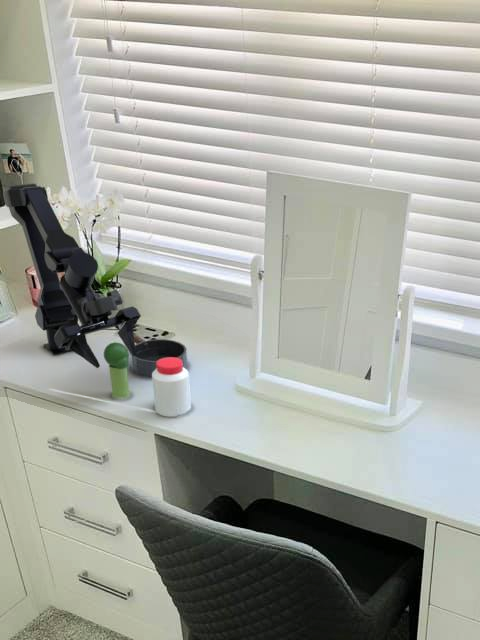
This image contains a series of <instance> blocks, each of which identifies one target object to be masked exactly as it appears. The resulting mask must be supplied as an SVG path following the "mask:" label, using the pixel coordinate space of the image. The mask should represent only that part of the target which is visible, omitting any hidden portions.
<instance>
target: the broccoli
mask: <svg viewBox="0 0 480 640" xmlns="http://www.w3.org/2000/svg"><path fill="white" fill-rule="evenodd" d="M103 357H104V361H105V362H106V363H107V364H108V369H109V376H110V377H109V378H110V386H111V397H113V398H115V399H125V398H128V397H130V395H131V391H130V387H129V386H130V385H129V378H128V370H127V367H128V365H129V363H130V361H129V359H130V352H129V350H128V349H127V347H126V346H125V344H124V343H120V342H111V343H109V344H107V346H106V347H105V348H104V350H103Z"/></svg>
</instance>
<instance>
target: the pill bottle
mask: <svg viewBox="0 0 480 640" xmlns="http://www.w3.org/2000/svg"><path fill="white" fill-rule="evenodd" d="M156 366H157V368H156V369H155V370H154V371H153V372H152V378H151V380H152V382H151V383H152V388H153V389H152V391H153V401H154V403H153V404H154V409H155V410H154V411H155V412H156V414H158V415H160V416H163V417H169V418H174V417H176V418H177V417H181V415H183V414H185V413H187V412H189V411H190V410H191V408H192V399H191V384H190V383H191V381H190V373H189V372H190V371H189V370H188V369H187V368H186V369H185V368H184V367H183V361H182V360H181V359H179V358H175V357H166V358H162V359H159V360H158V361H157V362H156Z"/></svg>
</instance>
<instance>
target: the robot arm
mask: <svg viewBox="0 0 480 640" xmlns="http://www.w3.org/2000/svg"><path fill="white" fill-rule="evenodd" d="M2 197H3V201H4V204H5V206H6V207H7V208H8V209H9V212H10V215H11V217H12V218H13V219H14V220H15V221H16V222H17V223H18V224H19V225H20V226H21V227H22V230H23V233H24V237H25V240H26V244H27V247H28V250H29V254H30V257H31V260H32V264H33V267H34V270H35V274H36V277H37V281H38V285H39V288H40V289H39V292H38V297H37V300H36V302H37V307H36V311H35V314H34V317H35V321H36V324H37V326H38V327H39V328H40V329H41V330H42V331H43V332H44V331H45V332H46V339H47V343H44V344H43V345H42V346H43V348H44V349H46V350H47V351H48V352H50V353H51V354H52V355H54V356H57V355H61V354H64V353H69V352H73V353H75V354H77V356H79V357H81V358H83V359H84V360H85V361H87V363H89V364H90V365H92V366H93V367H95V369H96V368H97V369H99V368H100V367H101V366H100V363H99V360H98V359H97V357H96V355H95V353H94V352H93V350H92V348H91V347H90V345H89V344H88V343H89V342H88V341H87V337H86V335H88V334H93V333H97V332H99V331H102V330H106V329H111V328H113V327H114V328H115V329H116V330H118V332H117V335H118V336H119V338H120V339H121V341H122V342H123V345H124V346H125V347H126V348H127V350H128V352H129V354H130V353H131V354H132V355H133V356H135V355H136V348H135V345H136V343H135V342H134V334H135V333H134V329H135V328H134V327H135V325H136V324H138V321H139V319H140V318H141V317H142V315H141V313H140V311H139V310H138V308H137V307H135V306H128V307H124V308H121V309H118V306H120V305H122V304H123V303H124V302H123V299H122V296H121V294H120V293H119V291H118V289H114V290H110V291H107V292H106V296H104V297H102V296H101V295H100V294H99V293H95V290H94V289H93V288H92V284H93V282H94V280H95V277H96V275H97V272H98V269H99V264H98V261H97V260H96V258H95V257H94V256H92V254H90V253H88V252H85V251H84V249H83V247H80V245H79V243H78V242H77V241H76V239H75V238H74V237H73V236H72V235H70V234H68V233H66V232H65V230H64V229H63V226H62V225H61V222H60V220H59V219H58V217H57V214H56V213H55V211H54V209H53V207H52V205H51V203H50V201H49V198H48V192H47V189H46V187H45V186H41V185H37V184H36V183H35V182H33V183H31V182H30V183H21V184H11V185H9V184H8V185H7V186H6V190H3V191H2ZM60 273H64V274H63V275H62V276H61V277H60V278H59V275H58V274H60ZM112 311H113V312H116V311H117V312H116V314H115V316H113V317H109V316H111V315H112V314H113V312H112ZM79 323H80V324H81V325H80V324H79ZM133 333H134V334H133Z"/></svg>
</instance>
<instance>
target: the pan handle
mask: <svg viewBox="0 0 480 640" xmlns="http://www.w3.org/2000/svg"><path fill="white" fill-rule="evenodd" d="M133 334H134V342H135V345H136V344H138V343H140V342H143V341H146V340H145V339H143V338H141V337H140V336H139V335H137V334H135V333H134V332H133ZM147 346H148V344H147V343H145V344H144V347H145V348H146V347H147Z"/></svg>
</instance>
